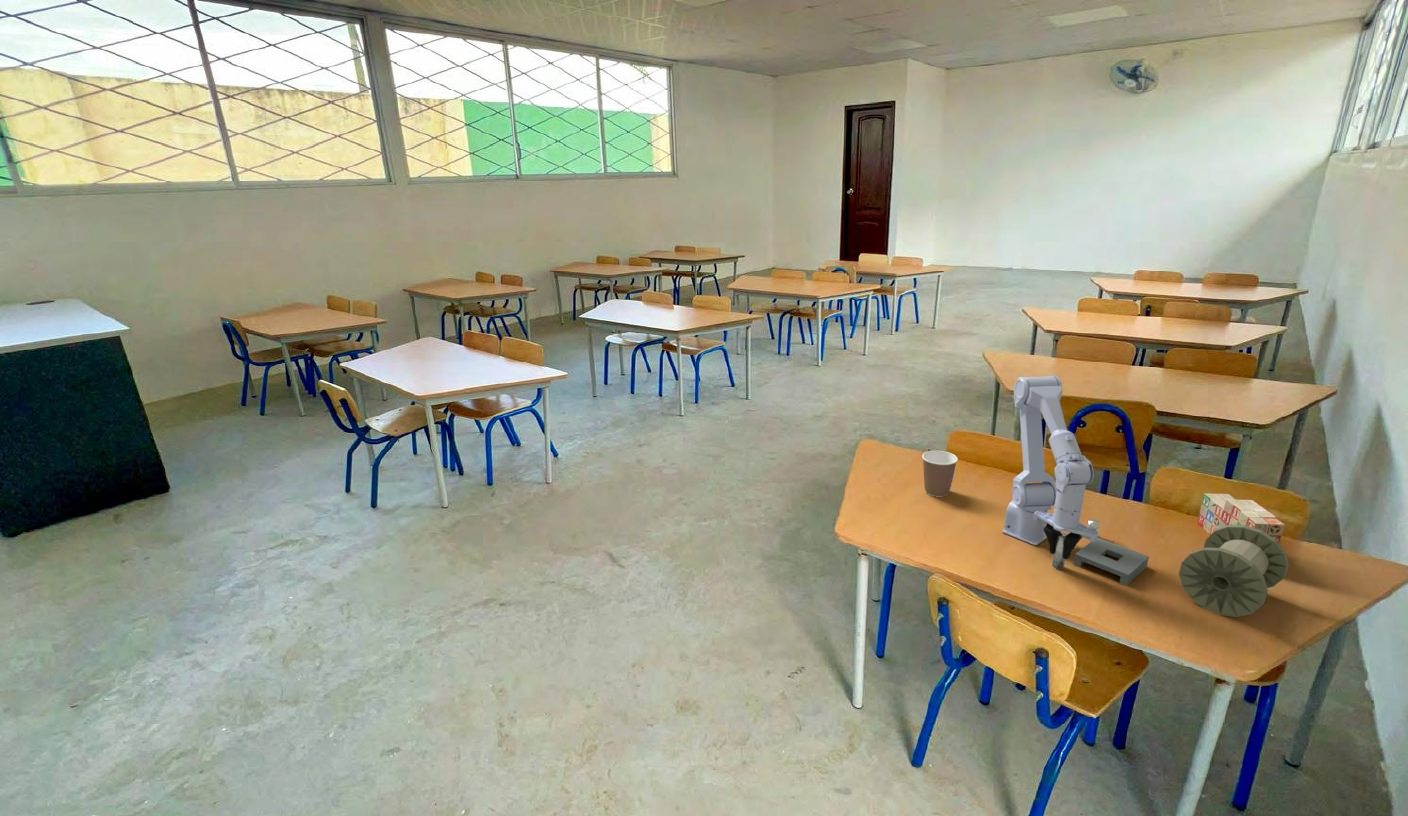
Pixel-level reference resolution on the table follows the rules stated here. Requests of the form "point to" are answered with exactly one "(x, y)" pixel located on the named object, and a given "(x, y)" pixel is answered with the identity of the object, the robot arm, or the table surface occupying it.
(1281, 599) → the table surface
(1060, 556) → the long pin
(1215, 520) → the stack of blocks
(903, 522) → the table surface
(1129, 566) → the board
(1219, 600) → the spool
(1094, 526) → the short pin
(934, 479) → the coffee cup
